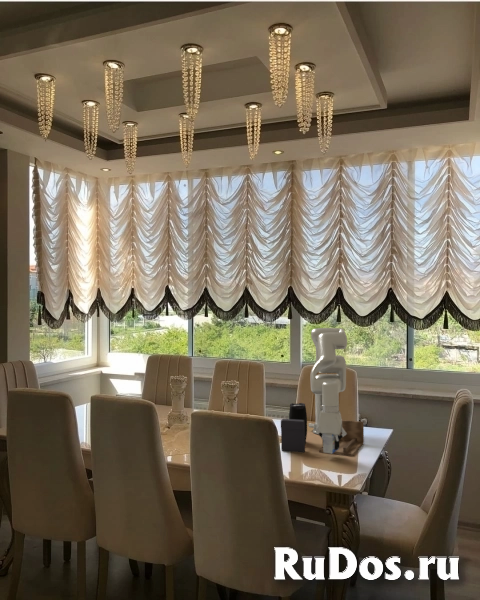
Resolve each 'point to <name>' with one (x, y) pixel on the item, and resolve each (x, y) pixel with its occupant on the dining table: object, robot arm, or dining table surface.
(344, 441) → the book rack
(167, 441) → the dining table surface
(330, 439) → the medicine box
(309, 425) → the robot arm
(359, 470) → the dining table surface
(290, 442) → the calculator
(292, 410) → the portable speaker
